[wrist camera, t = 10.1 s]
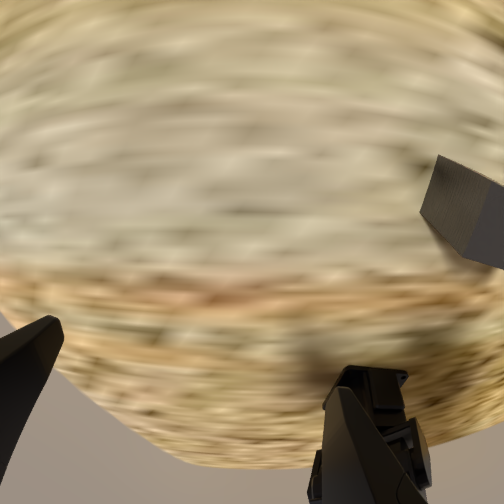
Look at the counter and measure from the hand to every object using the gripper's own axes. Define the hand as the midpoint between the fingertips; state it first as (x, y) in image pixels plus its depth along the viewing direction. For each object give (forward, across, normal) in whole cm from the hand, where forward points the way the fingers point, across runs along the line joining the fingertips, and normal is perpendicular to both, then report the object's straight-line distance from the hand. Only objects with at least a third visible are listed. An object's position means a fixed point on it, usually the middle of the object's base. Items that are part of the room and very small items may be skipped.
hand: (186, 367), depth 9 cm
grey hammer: (+12, -22, -5) cm, 25 cm away
